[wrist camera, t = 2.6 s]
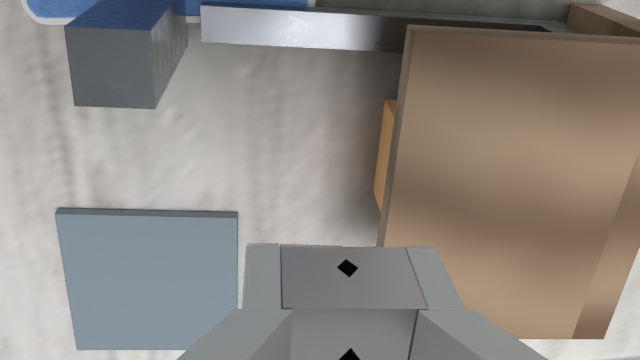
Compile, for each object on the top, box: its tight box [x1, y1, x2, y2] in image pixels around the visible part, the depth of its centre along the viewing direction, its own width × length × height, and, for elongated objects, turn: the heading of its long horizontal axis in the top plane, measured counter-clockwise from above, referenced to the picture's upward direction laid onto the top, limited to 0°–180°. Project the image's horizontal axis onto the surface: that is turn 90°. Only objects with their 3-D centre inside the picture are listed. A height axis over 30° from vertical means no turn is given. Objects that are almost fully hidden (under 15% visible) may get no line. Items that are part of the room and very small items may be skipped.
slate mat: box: [55, 208, 238, 350], centre depth 31 cm, size 9×9×1 cm
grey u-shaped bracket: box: [64, 0, 585, 109], centre depth 24 cm, size 12×19×8 cm, turn 86°
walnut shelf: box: [376, 3, 640, 339], centre depth 25 cm, size 13×10×8 cm
